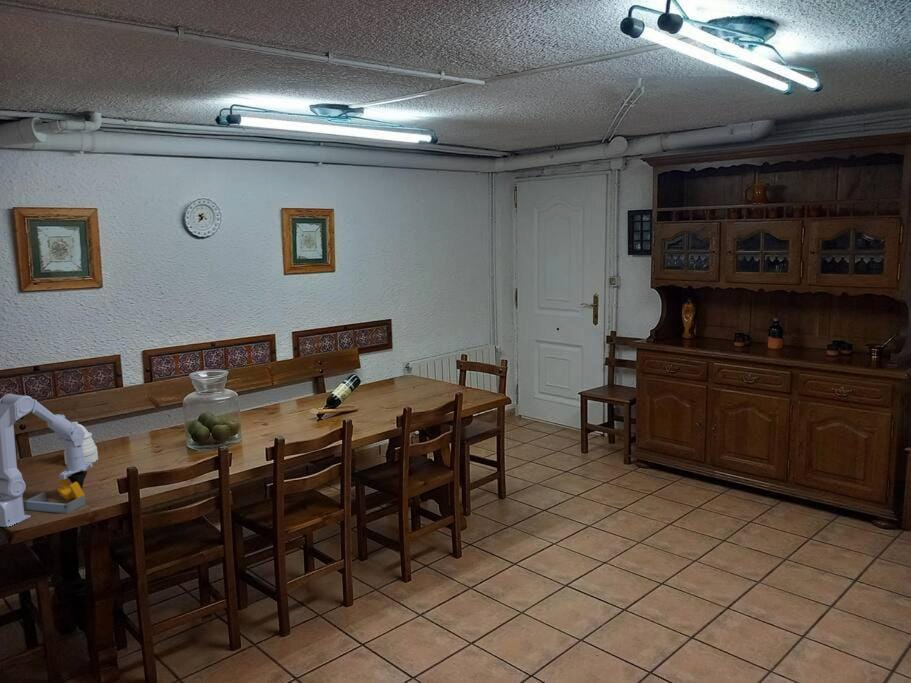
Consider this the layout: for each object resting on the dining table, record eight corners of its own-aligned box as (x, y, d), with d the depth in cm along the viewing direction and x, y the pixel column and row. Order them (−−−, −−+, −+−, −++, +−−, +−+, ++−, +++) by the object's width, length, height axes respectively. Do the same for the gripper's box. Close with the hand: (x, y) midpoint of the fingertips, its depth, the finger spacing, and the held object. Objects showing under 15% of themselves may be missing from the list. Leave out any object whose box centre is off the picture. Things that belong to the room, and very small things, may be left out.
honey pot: (84, 466, 299) (79, 425, 296) (58, 465, 301) (53, 424, 298) (104, 457, 311) (100, 417, 308) (79, 455, 314) (75, 416, 311)
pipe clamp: (60, 496, 265) (52, 482, 263) (71, 489, 268) (63, 475, 266) (74, 503, 258) (66, 489, 255) (85, 496, 261) (77, 482, 258)
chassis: (67, 513, 249) (66, 505, 249) (24, 509, 253) (23, 501, 253) (85, 503, 258) (84, 496, 257) (43, 500, 262) (42, 492, 261)
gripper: (69, 463, 256) (73, 498, 259) (97, 451, 270) (101, 484, 273) (53, 462, 258) (57, 497, 260) (82, 450, 272) (85, 483, 274)
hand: (78, 490), depth 267 cm, fingers closed
